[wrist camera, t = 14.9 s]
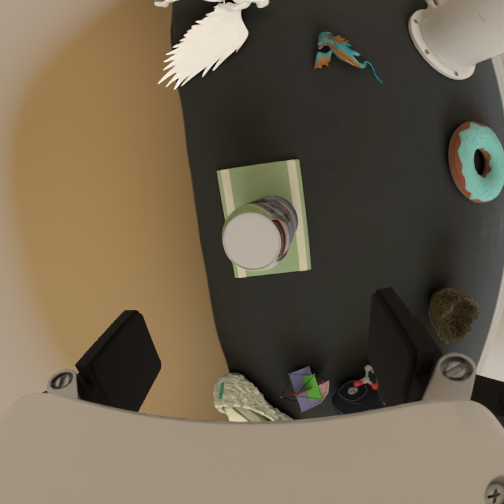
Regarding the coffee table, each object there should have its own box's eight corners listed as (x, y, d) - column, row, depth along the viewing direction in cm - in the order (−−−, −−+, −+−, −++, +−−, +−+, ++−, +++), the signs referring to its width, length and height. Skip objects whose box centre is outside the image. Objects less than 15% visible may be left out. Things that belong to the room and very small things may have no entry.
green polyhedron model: (287, 421, 33) (340, 402, 33) (273, 379, 36) (326, 360, 36) (286, 412, 40) (331, 396, 40) (274, 376, 42) (319, 360, 42)
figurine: (161, -45, 18) (241, -25, 26) (116, 87, 27) (212, 98, 35) (190, -87, 9) (286, -53, 16) (126, 66, 18) (257, 89, 25)
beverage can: (296, 243, 34) (306, 281, 23) (237, 242, 35) (219, 281, 23) (297, 192, 32) (309, 206, 21) (236, 193, 33) (214, 207, 21)
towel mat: (217, 170, 32) (216, 170, 32) (298, 159, 31) (299, 159, 31) (235, 276, 36) (235, 278, 36) (310, 268, 35) (311, 269, 35)
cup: (438, 321, 36) (460, 348, 29) (408, 312, 36) (430, 341, 28) (459, 282, 34) (486, 304, 26) (431, 269, 34) (459, 292, 26)
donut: (482, 117, 26) (498, 115, 22) (499, 189, 28) (515, 193, 25) (433, 129, 28) (448, 127, 24) (453, 210, 31) (469, 216, 27)
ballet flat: (276, 441, 48) (274, 470, 41) (199, 378, 43) (187, 412, 36) (312, 429, 46) (313, 460, 38) (238, 361, 41) (230, 398, 33)
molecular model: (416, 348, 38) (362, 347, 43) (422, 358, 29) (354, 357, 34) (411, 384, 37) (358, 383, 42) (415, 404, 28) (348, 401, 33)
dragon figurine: (375, 33, 23) (325, 13, 21) (398, 70, 23) (347, 50, 20) (351, 59, 30) (303, 46, 27) (369, 96, 29) (319, 84, 27)
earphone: (361, 426, 46) (420, 466, 30) (337, 445, 44) (394, 492, 27) (353, 367, 41) (436, 414, 25) (322, 391, 39) (404, 450, 22)
